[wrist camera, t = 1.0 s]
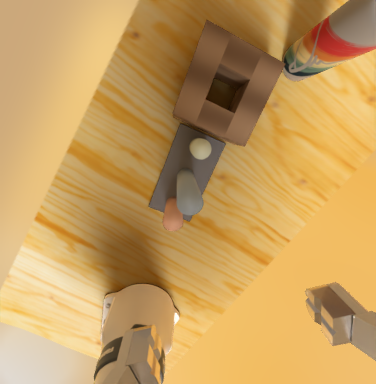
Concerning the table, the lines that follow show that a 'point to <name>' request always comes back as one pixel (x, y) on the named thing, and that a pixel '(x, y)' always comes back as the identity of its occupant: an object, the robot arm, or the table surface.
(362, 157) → the table surface
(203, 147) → the pin short
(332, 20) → the lotion bottle
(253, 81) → the socket block
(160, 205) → the mat
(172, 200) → the pin medium
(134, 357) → the robot arm
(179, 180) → the pin long
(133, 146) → the table surface
